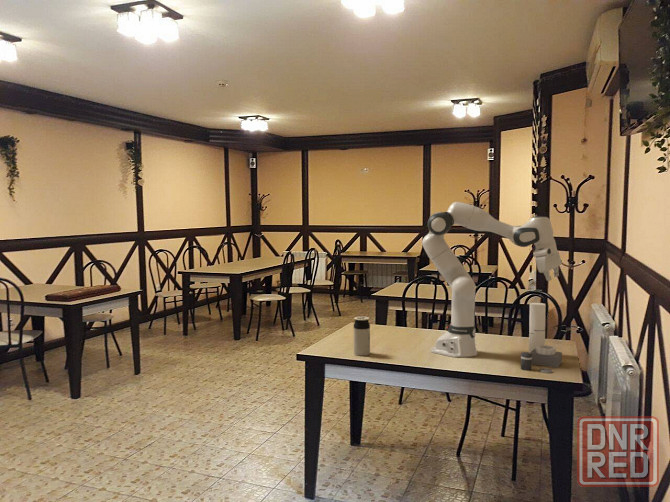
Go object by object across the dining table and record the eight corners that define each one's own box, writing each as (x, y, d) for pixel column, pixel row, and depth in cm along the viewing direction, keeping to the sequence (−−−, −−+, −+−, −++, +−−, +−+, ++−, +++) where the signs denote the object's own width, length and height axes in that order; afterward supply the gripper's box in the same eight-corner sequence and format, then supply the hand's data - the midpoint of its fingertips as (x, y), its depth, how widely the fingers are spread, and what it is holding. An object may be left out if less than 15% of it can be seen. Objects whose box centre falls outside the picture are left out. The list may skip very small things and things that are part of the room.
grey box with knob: (529, 363, 233) (529, 347, 233) (534, 359, 241) (534, 343, 240) (557, 367, 226) (557, 351, 226) (561, 363, 234) (562, 346, 233)
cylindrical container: (543, 357, 243) (544, 305, 242) (527, 355, 247) (528, 304, 245) (545, 354, 249) (546, 303, 248) (530, 352, 253) (531, 302, 252)
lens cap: (538, 372, 221) (538, 370, 220) (541, 369, 225) (541, 367, 225) (550, 374, 218) (550, 372, 218) (553, 371, 222) (553, 369, 222)
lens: (519, 369, 224) (519, 353, 224) (522, 367, 228) (522, 351, 228) (530, 371, 222) (530, 355, 221) (532, 368, 225) (533, 353, 225)
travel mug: (351, 355, 250) (351, 318, 249) (356, 351, 258) (356, 316, 257) (367, 356, 247) (367, 319, 246) (371, 352, 255) (371, 316, 254)
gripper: (548, 247, 248) (554, 274, 248) (531, 254, 233) (538, 283, 234) (561, 245, 244) (567, 273, 244) (545, 252, 229) (551, 282, 229)
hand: (552, 278), depth 239 cm, fingers open, 8 cm apart
